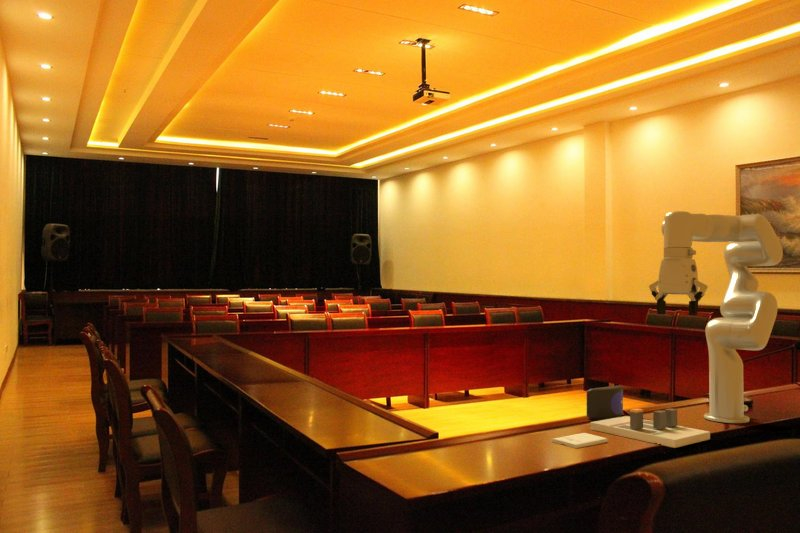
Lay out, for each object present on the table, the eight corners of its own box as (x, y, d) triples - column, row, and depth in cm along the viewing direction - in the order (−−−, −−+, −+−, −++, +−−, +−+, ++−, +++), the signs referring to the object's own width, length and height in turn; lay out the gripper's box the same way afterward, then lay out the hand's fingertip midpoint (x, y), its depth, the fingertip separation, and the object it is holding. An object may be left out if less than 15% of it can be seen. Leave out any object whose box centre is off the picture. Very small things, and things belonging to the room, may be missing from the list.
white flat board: (626, 422, 196) (626, 415, 196) (710, 439, 175) (710, 431, 175) (590, 429, 186) (590, 422, 186) (674, 447, 165) (674, 439, 165)
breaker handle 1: (659, 426, 179) (659, 410, 179) (666, 428, 177) (666, 411, 178) (653, 428, 177) (653, 411, 177) (660, 429, 176) (659, 412, 176)
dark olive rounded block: (597, 421, 196) (597, 390, 197) (585, 419, 200) (585, 388, 201) (631, 416, 205) (630, 386, 206) (619, 414, 209) (618, 384, 210)
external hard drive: (607, 444, 170) (575, 450, 163) (582, 438, 177) (551, 444, 170) (607, 438, 170) (575, 444, 163) (582, 432, 177) (551, 437, 170)
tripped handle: (636, 426, 179) (636, 408, 179) (643, 428, 177) (643, 409, 177) (630, 428, 177) (630, 409, 177) (636, 429, 175) (636, 410, 175)
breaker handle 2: (670, 424, 182) (670, 408, 182) (677, 425, 181) (677, 409, 181) (664, 425, 180) (664, 409, 181) (671, 426, 179) (671, 410, 179)
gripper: (714, 254, 180) (713, 316, 179) (657, 256, 194) (657, 314, 193) (699, 252, 176) (698, 315, 175) (643, 255, 190) (642, 313, 189)
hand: (676, 314), depth 184 cm, fingers open, 9 cm apart
